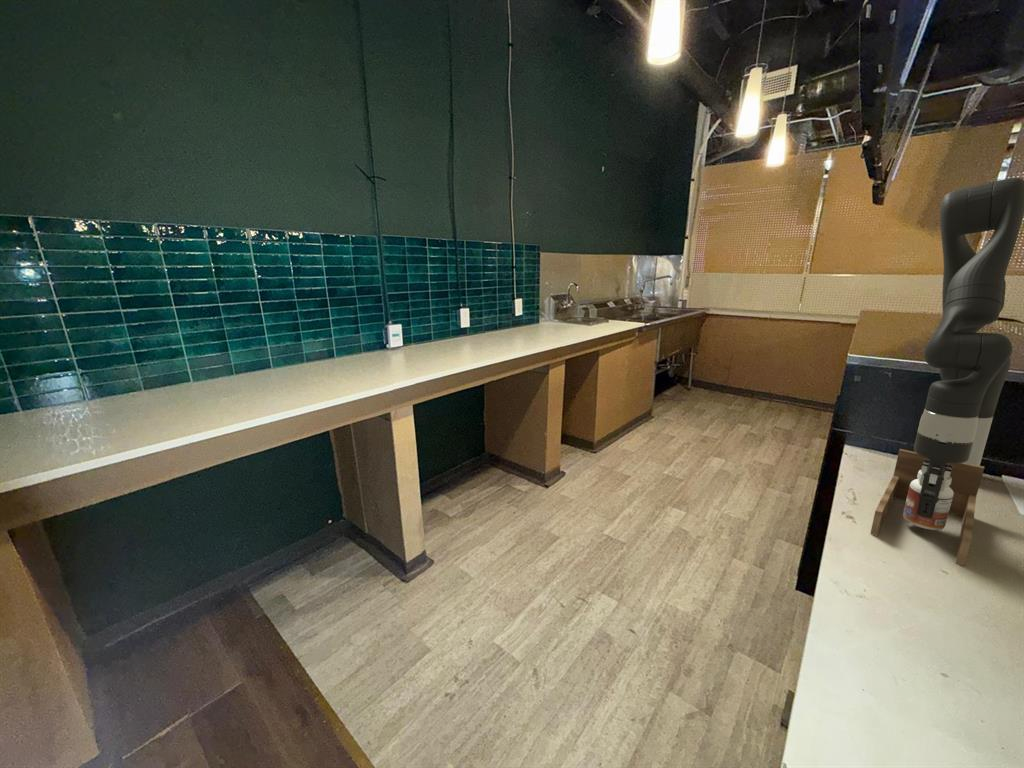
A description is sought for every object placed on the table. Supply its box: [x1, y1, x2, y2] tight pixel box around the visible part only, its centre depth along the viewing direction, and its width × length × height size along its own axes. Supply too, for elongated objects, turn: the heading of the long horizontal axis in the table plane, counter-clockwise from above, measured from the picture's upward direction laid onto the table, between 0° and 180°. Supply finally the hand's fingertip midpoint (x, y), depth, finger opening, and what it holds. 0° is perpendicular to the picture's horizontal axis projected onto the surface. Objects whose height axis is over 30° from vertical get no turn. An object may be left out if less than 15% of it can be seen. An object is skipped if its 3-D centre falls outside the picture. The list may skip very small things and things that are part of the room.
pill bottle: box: [902, 470, 954, 531], centre depth 81 cm, size 6×6×11 cm
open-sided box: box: [870, 448, 985, 567], centre depth 83 cm, size 23×13×12 cm, turn 130°
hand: (926, 509), depth 82 cm, fingers closed on pill bottle, 6 cm apart
